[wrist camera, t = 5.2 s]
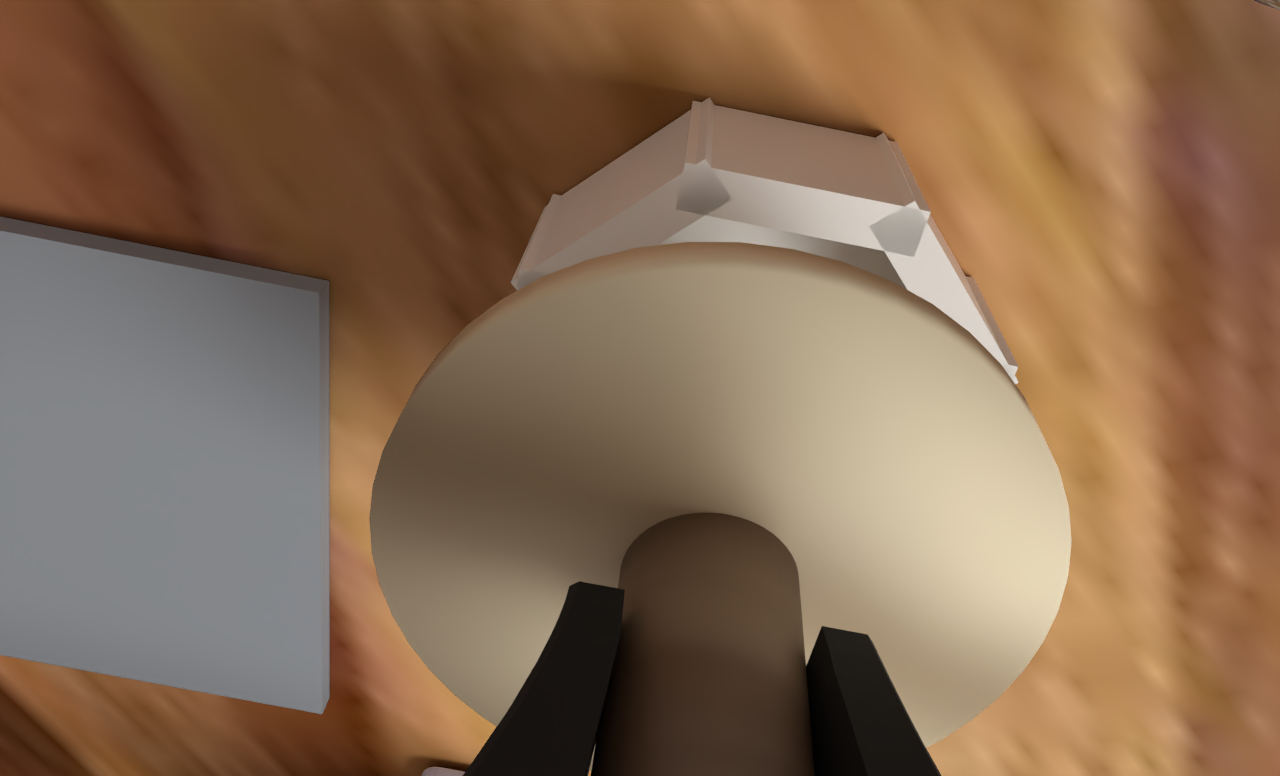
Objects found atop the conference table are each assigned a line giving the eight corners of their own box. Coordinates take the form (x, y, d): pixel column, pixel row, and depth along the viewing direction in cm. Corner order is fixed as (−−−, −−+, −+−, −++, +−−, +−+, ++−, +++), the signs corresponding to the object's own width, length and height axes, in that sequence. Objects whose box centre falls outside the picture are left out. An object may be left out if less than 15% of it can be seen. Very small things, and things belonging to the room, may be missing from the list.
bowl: (881, 517, 23) (903, 628, 20) (513, 447, 23) (479, 548, 20) (1027, 161, 18) (1087, 235, 15) (562, 67, 18) (528, 123, 15)
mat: (329, 697, 28) (322, 713, 28) (-74, 623, 28) (-89, 638, 27) (329, 280, 21) (319, 293, 20) (-221, 173, 20) (-246, 182, 20)
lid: (875, 807, 18) (928, 1199, 13) (347, 665, 17) (189, 1029, 12) (1204, 378, 12) (1513, 772, 7) (453, 135, 11) (242, 402, 6)
